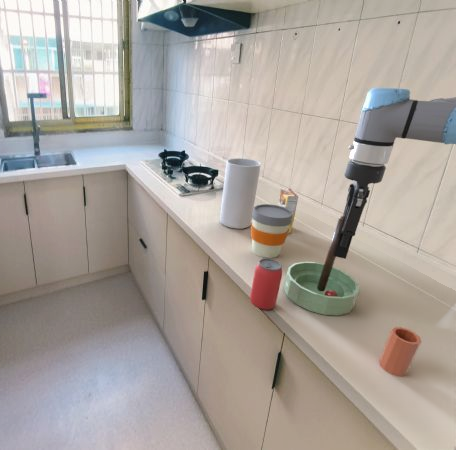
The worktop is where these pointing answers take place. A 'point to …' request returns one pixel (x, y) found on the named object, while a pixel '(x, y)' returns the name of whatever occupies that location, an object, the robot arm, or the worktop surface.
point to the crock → (399, 351)
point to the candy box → (288, 202)
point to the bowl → (315, 300)
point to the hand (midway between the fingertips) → (339, 254)
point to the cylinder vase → (239, 192)
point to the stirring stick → (330, 256)
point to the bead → (331, 293)
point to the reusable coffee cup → (269, 229)
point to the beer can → (266, 284)
